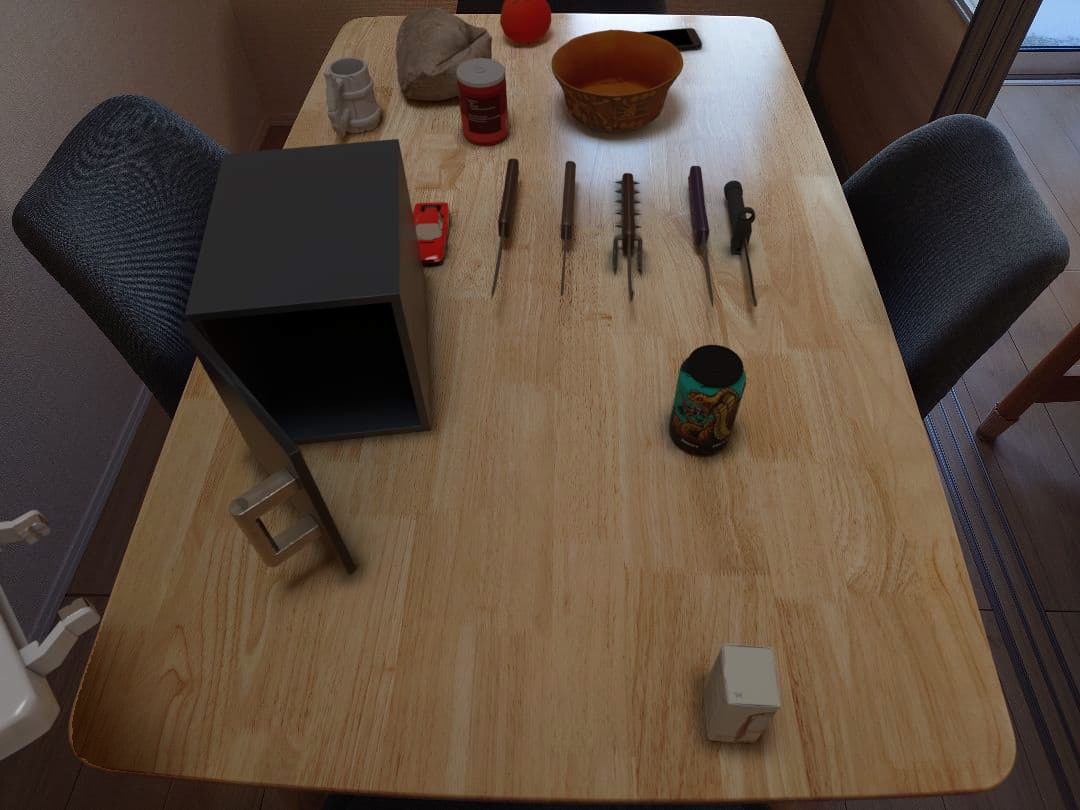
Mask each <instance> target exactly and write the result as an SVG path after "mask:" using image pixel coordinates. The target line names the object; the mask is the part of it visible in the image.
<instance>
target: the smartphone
mask: <svg viewBox="0 0 1080 810" xmlns="http://www.w3.org/2000/svg"><path fill="white" fill-rule="evenodd" d="M640 32H641V33H647V34H650V35H653V36H657V37H660V38H662V39H664V40H667V41H669V42H670V43H672V44H673V45H674V46H675V47H676V48H677V49H678V50H679V51H684V50H696V49H697V50H698V49H700V48H702V47H703V42H702V40H701V38H700V36H699V35H698V33H697V30H696V29H695V28H693V27H685V28H684V27H682V28H673V29H660V30H648V31H647V30H646V31H640Z"/></svg>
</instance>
